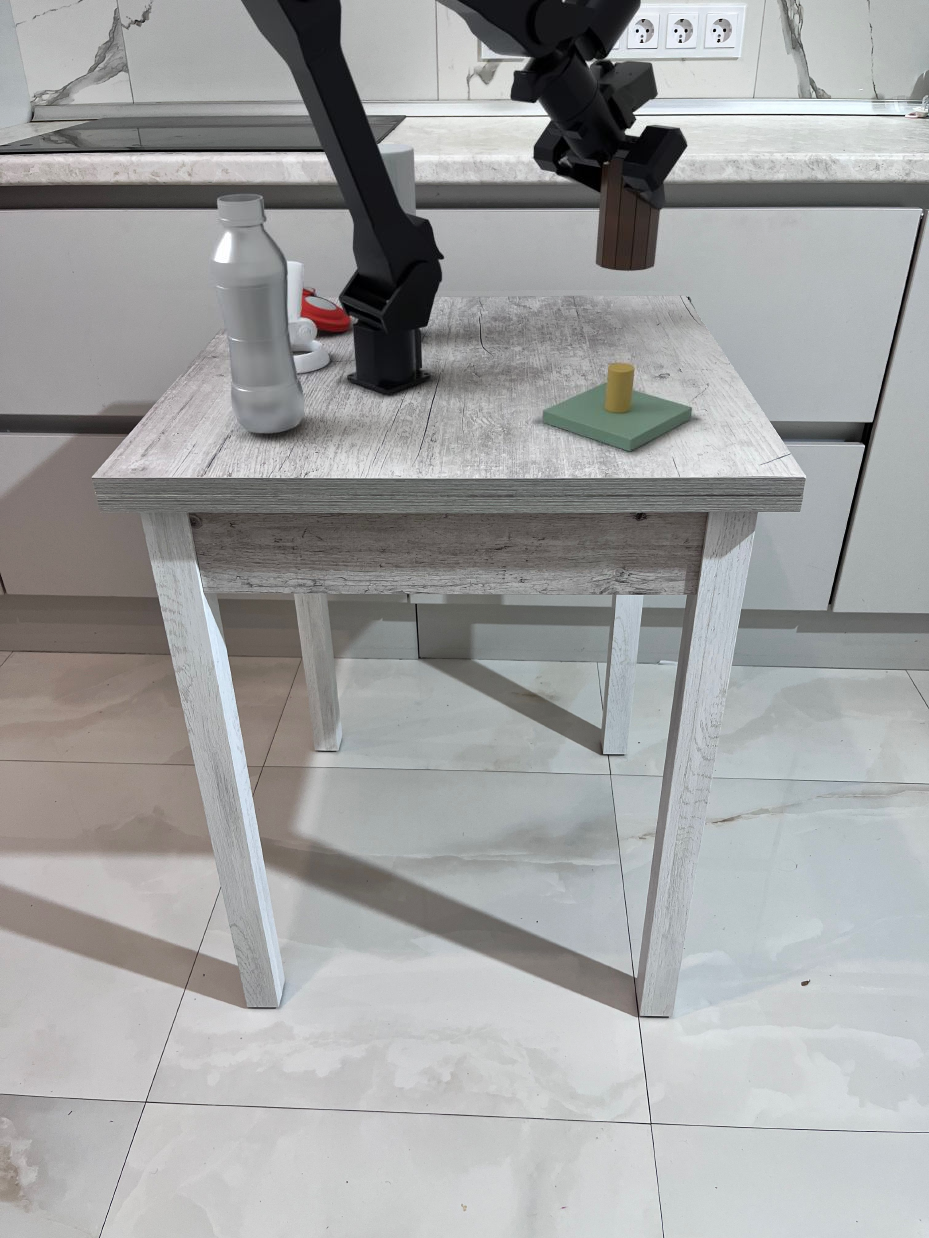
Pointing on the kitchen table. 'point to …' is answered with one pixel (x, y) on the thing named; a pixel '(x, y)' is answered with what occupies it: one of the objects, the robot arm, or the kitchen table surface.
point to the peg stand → (617, 412)
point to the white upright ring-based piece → (302, 325)
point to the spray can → (401, 173)
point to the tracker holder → (323, 312)
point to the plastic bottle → (255, 317)
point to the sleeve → (624, 225)
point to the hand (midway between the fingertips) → (639, 201)
